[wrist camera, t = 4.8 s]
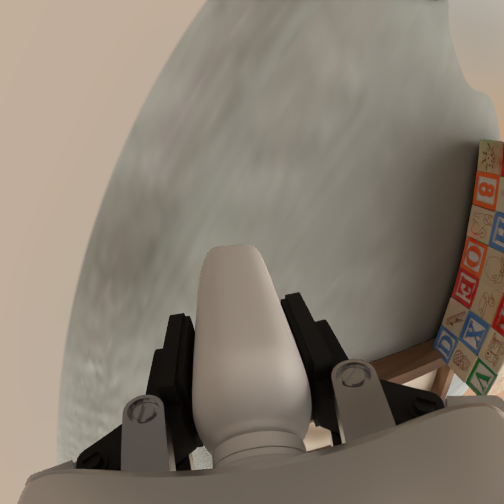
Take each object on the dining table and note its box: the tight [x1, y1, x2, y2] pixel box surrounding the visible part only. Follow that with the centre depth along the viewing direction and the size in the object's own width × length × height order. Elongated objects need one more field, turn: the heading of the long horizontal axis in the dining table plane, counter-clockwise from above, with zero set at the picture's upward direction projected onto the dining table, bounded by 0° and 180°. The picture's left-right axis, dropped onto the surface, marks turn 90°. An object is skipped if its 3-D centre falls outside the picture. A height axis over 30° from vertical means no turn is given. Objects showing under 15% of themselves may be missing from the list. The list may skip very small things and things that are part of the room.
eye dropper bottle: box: [192, 245, 312, 469], centre depth 9 cm, size 4×6×12 cm
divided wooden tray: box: [303, 338, 454, 453], centre depth 28 cm, size 14×24×3 cm, turn 99°
